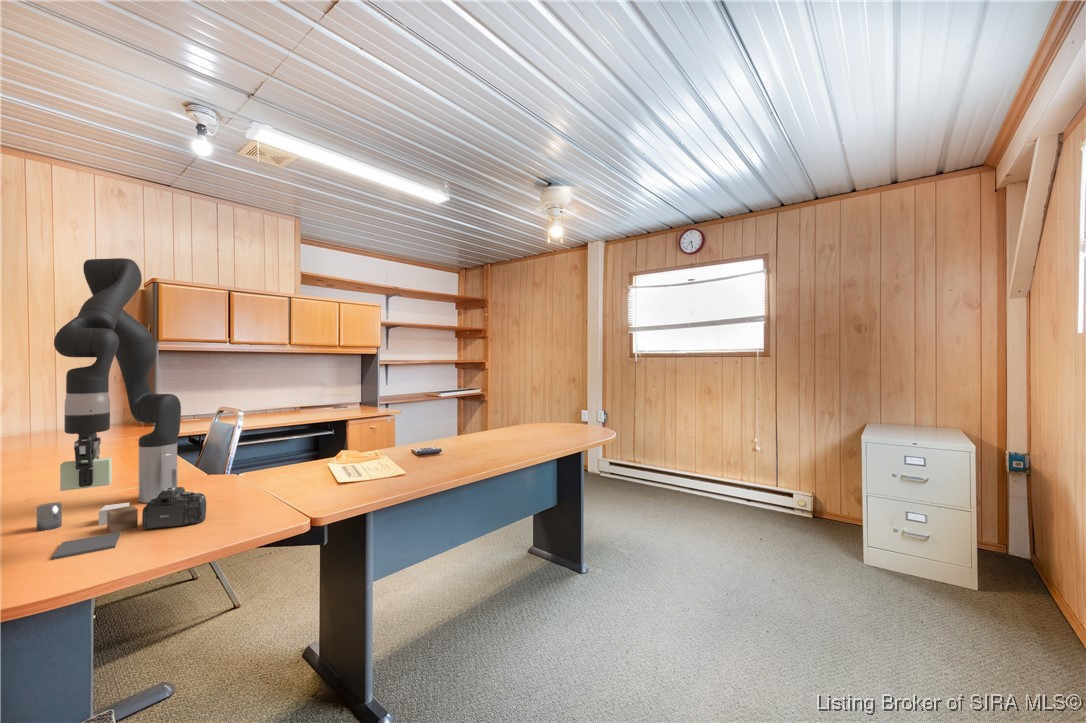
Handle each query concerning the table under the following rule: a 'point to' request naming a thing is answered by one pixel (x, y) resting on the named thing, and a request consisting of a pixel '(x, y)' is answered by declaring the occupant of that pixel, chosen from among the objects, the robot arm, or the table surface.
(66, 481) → the sage block
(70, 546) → the mat
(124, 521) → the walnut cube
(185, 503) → the camera
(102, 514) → the grey box
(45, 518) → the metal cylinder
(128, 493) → the table surface
